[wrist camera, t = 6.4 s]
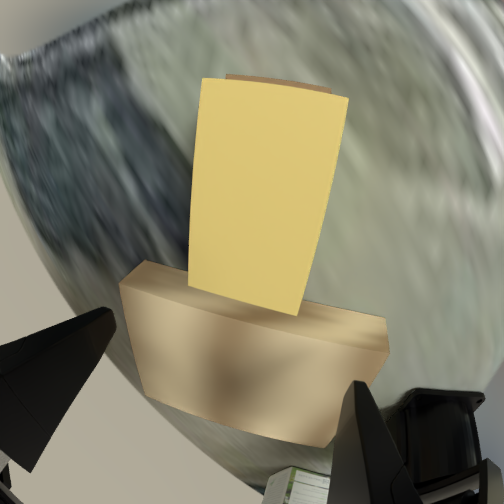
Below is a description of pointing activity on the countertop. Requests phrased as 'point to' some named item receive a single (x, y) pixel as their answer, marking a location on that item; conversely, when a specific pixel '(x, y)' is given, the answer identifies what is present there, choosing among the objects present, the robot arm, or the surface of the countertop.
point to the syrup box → (296, 487)
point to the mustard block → (261, 186)
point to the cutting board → (248, 356)
